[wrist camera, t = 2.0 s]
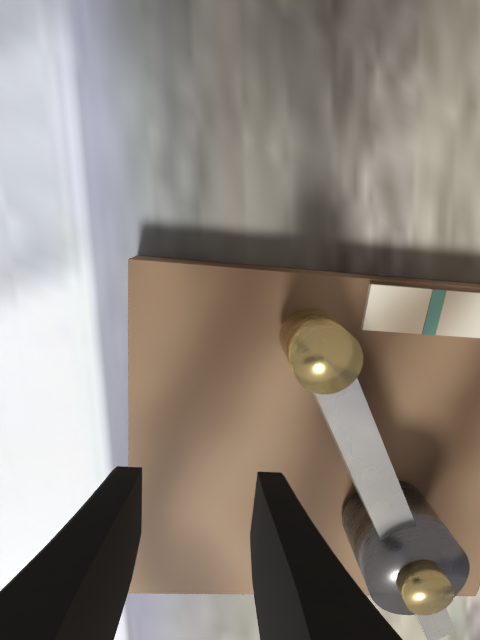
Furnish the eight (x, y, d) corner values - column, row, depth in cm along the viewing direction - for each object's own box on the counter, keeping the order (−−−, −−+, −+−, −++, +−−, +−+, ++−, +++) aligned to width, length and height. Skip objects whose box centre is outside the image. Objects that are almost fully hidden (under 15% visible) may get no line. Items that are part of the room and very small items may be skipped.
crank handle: (451, 570, 19) (510, 659, 15) (377, 599, 19) (416, 693, 15) (343, 285, 14) (389, 309, 10) (247, 330, 14) (256, 369, 11)
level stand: (555, 290, 17) (593, 297, 15) (458, 571, 21) (478, 600, 20) (137, 255, 15) (126, 259, 13) (135, 566, 20) (127, 597, 18)
